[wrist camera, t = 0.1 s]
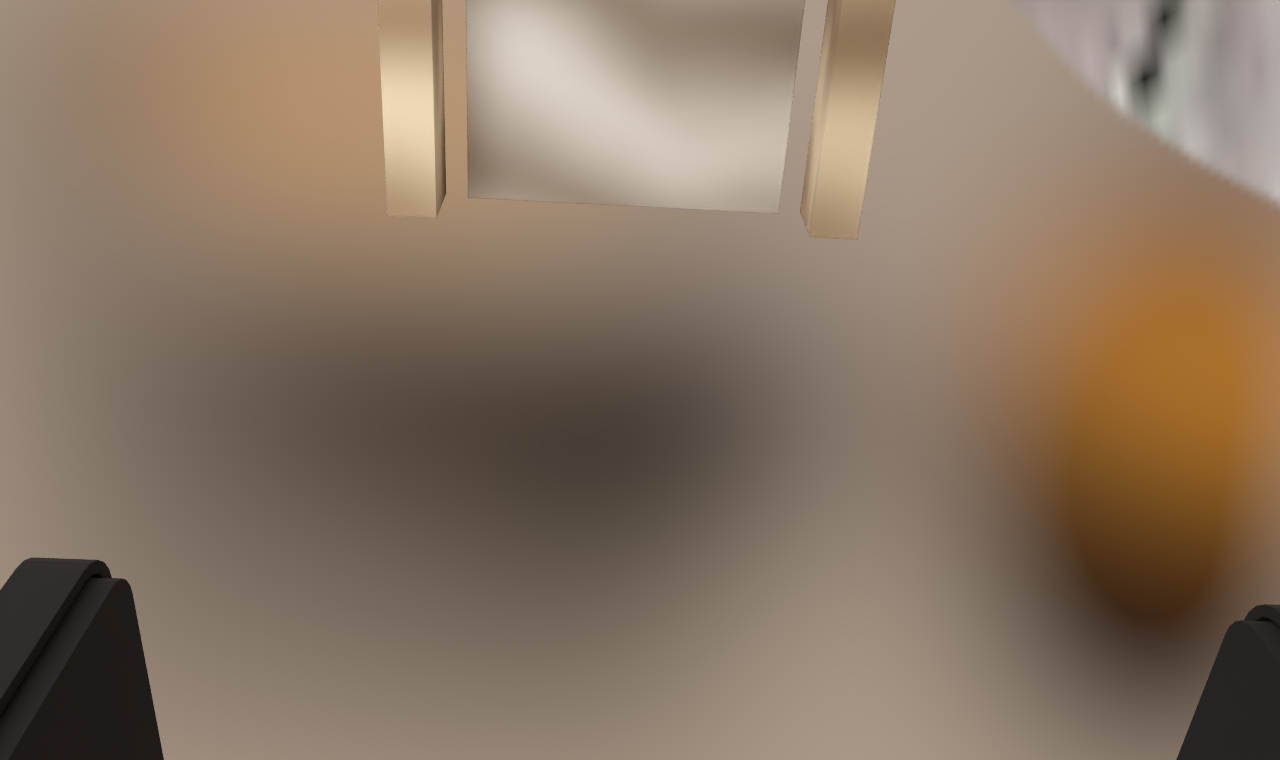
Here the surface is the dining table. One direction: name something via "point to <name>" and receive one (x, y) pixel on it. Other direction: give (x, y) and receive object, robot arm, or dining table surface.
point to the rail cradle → (635, 104)
